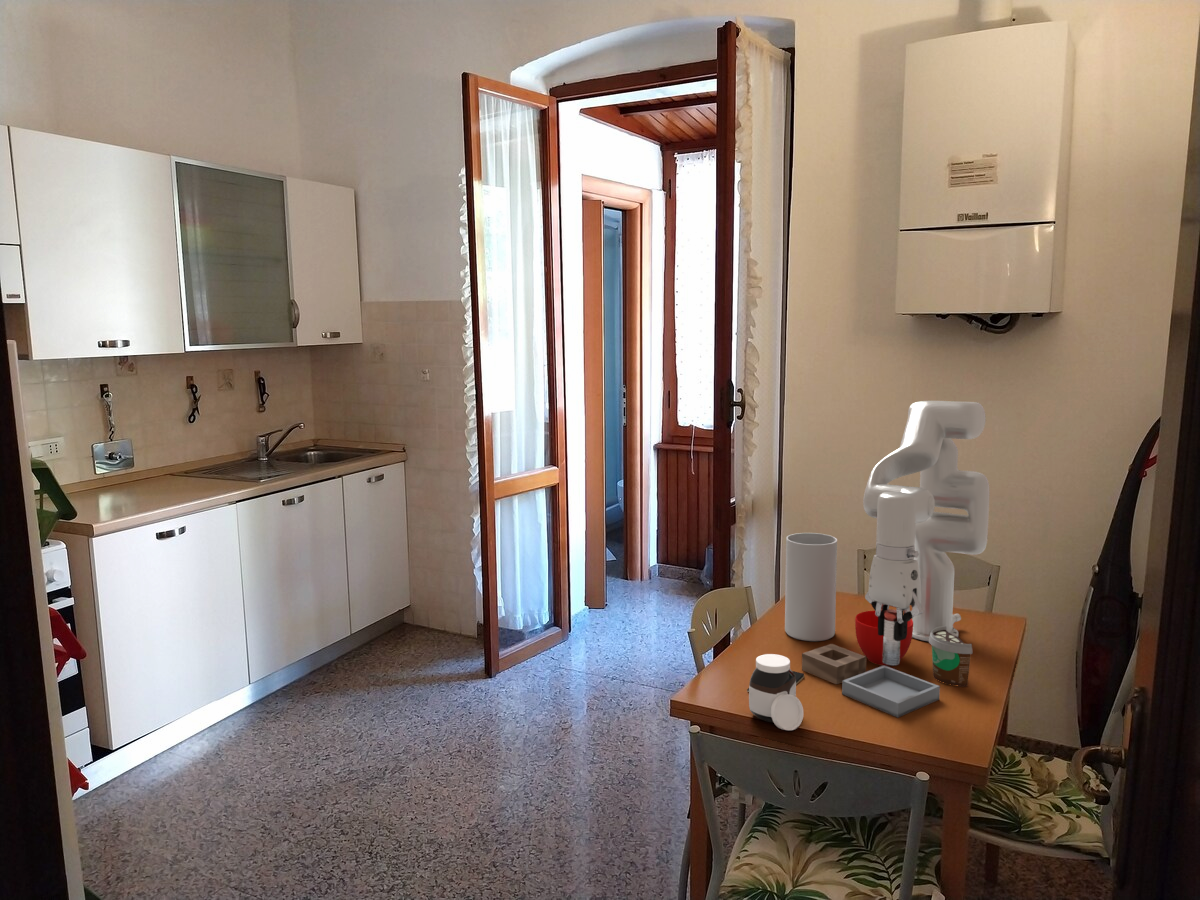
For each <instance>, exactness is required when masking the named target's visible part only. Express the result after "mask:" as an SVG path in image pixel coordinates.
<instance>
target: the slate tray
mask: <svg viewBox="0 0 1200 900" xmlns="http://www.w3.org/2000/svg"><path fill="white" fill-rule="evenodd" d="M841 684H842V685H841V687H842V688H841V689H842V691H841V694H842V695H843V696H845V697H847V698H850V699H853V700H856V701H857V702H860V703H862V704H865V705H867V706H869V707H871V708H874V709H876V710H879V711H880V712H883V713H886V714H888V715H890V716H893V717H895V718H897V719H898V718H901V717H903V716H904V715H907V714H909V713H912V712H914V711H917V710H918V709H922V708H923V707H925V706H928V705H931V704H932V703H936V702H937V701H940V692H941V691H940V690H941V686H940V685H938V684H935V683H932V682H929V681H927V680H924V679H921V678H919V677H916V676H914V675H912V674H911V675H910V674H908V673H906V672H903V671H900V670H897V669H895V668H892V667H890V666H888V665H880V666H879V667H875V668H873V669H870V670H866V672H865V673H862V674H859V675H857V676H854V677H851V678H848V679H846V680H843V681H842V683H841Z"/></svg>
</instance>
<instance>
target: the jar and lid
mask: <svg viewBox="0 0 1200 900" xmlns="http://www.w3.org/2000/svg"><path fill="white" fill-rule="evenodd" d="M793 671H794V670H792V669H791V660H790V658H788V657H787V656H784V655H781V654H776V653H775V654H774V653H764V654H762V655H759V656H757V657H756V658H755V669H754V670H753V671H752V673H751V676H750V679H749V684H748V685H749V687H748V688H749V693H748V707H749V711H750V712H751V714H752V715H753V716H755V717H756V718H757V719H759V720H761V721H763V722H766V723H767V722H768V723H774V725H775V726H776V727H777V728H778V729H781V730H783V731H794V730H796V729H798V728H799V726H800V725H801V724H802V721H803V719H804V707H803V704H802V702H801V700H800V699H799V697H797V684H796V678H795V675H794V673H793Z"/></svg>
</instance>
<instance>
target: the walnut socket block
mask: <svg viewBox="0 0 1200 900" xmlns="http://www.w3.org/2000/svg"><path fill="white" fill-rule="evenodd" d="M801 655H802V656H801V670H802V671H803V672H805V673H808V674H811V675H813V676H815V677H817V678H820V679H822V680H825V681H827V682H830V683H831V684H834V685H839V684H842V681H843V680H846V679H848V678H851V677H854V676H857V675H859V674H862V673H865V672H867V657H866V656H865V655H864V654H860V653H858V652H855V651H853V650H849V649H848V648H844V647H841V646H838V645H836V644H834V643H830V644H827V645H824V646H820V647H817V648H814V649H812V650H809V651H808V650H807V651H805V652H802V653H801Z"/></svg>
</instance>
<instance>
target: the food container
mask: <svg viewBox="0 0 1200 900" xmlns="http://www.w3.org/2000/svg"><path fill="white" fill-rule="evenodd" d="M928 643H929V644H930V645H931V656H932V658H931V659H932V660H931V661H932V677H933V678H934V679H935V680H936V679H937V680H936V681H938V680H939V681H938V682H940V681H941V682H940V683H942V682H944V683H943V684H945V683H946V684H945V685H948V684H951V685H950V686H953V685H958V686H957V687H968V684H969V674H970V665H971V664H970V663H971V655H973V645H972V644H973V643H964V642H963V640H962V639H960V637H959V636H958V637H957V636H955V635H952V634H951V633H949V632H948V631H947V627H946V626H942V627H937V628H935V629H933V630H932V632H931V634H930V637H929V641H928Z"/></svg>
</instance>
